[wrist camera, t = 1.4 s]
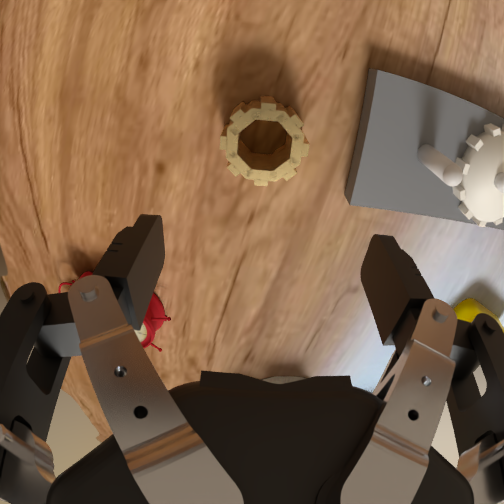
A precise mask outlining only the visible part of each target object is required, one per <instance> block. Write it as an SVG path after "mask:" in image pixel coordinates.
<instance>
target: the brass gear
mask: <svg viewBox="0 0 504 504" xmlns="http://www.w3.org/2000/svg"><path fill="white" fill-rule="evenodd" d="M230 119H231V120H230V123H229V124H226V125H225V127H224V129H223V131H222V134H221V136H220V149H223V150H226V159H227V160H228V165H227V168H228V169H229V170H230V171H231V172H232V173H233V174H234V175H235V176H238V175H239V174H240V173H241V174H242V175H243V176H244V177H245V178H246V179H253V180H254V185H259V186H267V184H268V181H277V180H279V179H280V178H282V177H283V178H284V179H285V180H286V181H287V180H288V179H290V178H291V177H293V176H294V175H295V174H297V171H296V168H295V167H297V166H298V165H299V164H300V162H301V156H304V157H307V156H308V150H309V142H308V141H307V139H306V137H305V135H304V133H303V132H302V130H301V127H302V126H303V125H304V124H303V122H302V121H301V119H300V118H299V116H298V115H297V113H296V112H295V111H294V110H293V109H292V107H291V106H290V105H289V106H288V107H287V108H285V107H284V106H283V105H282V104H281V103H278V102H275V100H274V97H271V96H261V100H260V101H257V100H252V101H251V102H250V103H249V104H247V105H246V103H245V102H244V101H242V102H241V103H240V104H239V105H237V106H236V107H235V108H234V109H233V111H232V114H231V116H230ZM254 120H267V121H278V122H279V123H280V124H281V125H282V126H283V127H284V129H285V130H286V131H287V134H286V142H285V144H284V145H282V146H281V147H280V148H278V149H277V150H276V151H274V152H273V153H272V154H263V153H252V152H251V151H250V150H249V149H248V147H247V146H246V145H245V144H244V143H243V142H242V141H241V140H240V132H241V131H242V130H243V129H244V128H246V127H247V126H248V125H249V124H251V123H252V122H253V121H254Z"/></svg>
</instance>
